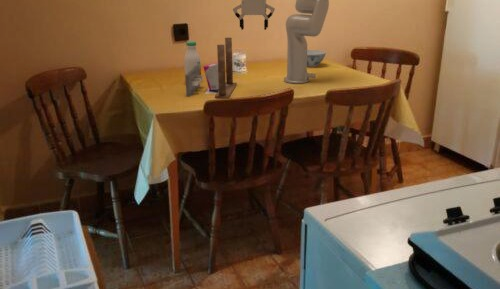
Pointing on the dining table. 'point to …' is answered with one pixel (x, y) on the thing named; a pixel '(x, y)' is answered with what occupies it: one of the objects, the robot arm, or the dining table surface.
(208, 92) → the pad
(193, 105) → the dining table surface
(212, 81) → the supplement box
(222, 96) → the gate
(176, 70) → the dining table surface
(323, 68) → the dining table surface
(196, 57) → the milk bottle
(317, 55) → the chinaware
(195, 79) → the panel
